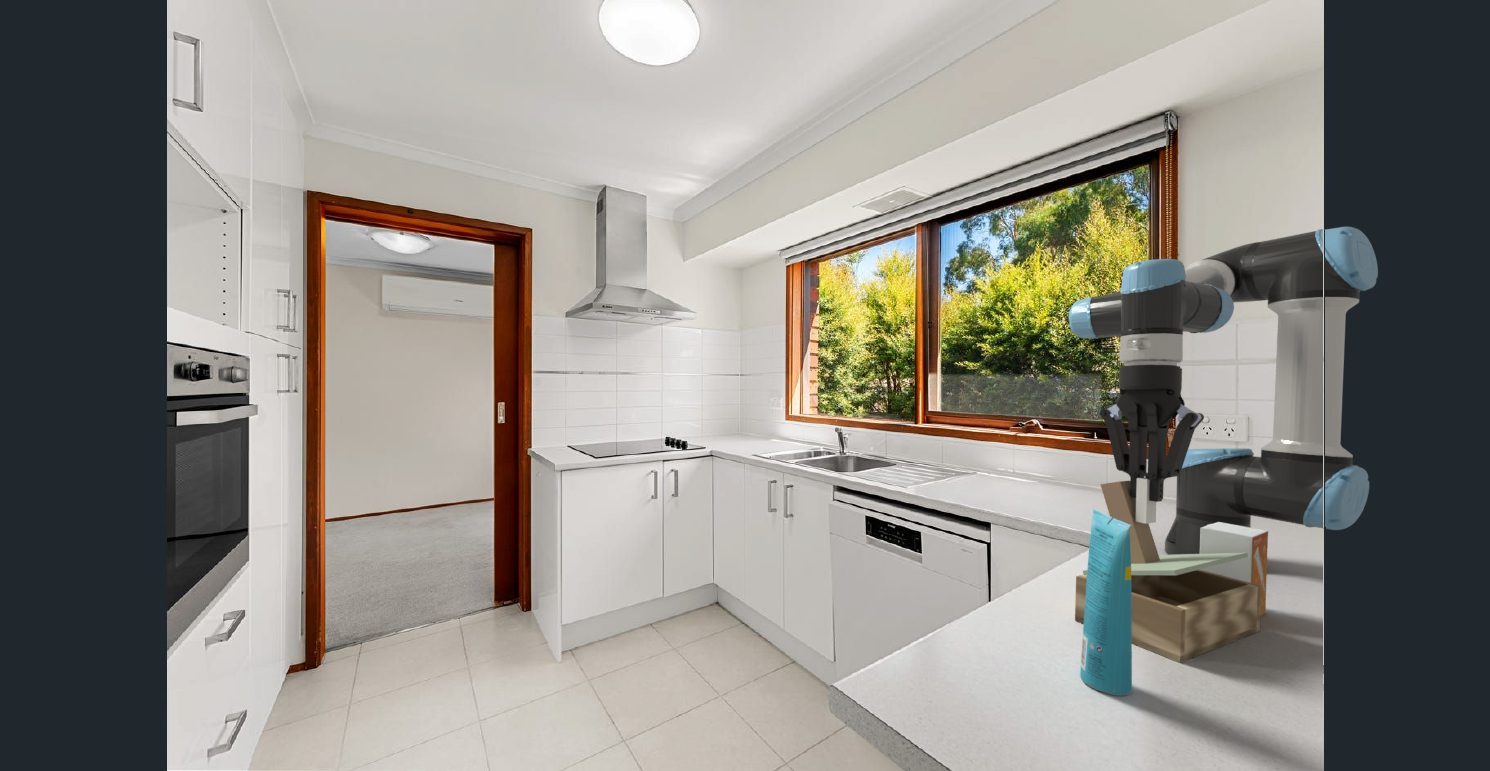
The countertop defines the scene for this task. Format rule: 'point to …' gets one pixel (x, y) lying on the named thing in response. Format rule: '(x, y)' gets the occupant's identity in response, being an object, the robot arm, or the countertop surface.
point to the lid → (1143, 542)
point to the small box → (1238, 541)
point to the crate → (1186, 612)
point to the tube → (1108, 608)
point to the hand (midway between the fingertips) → (1145, 521)
